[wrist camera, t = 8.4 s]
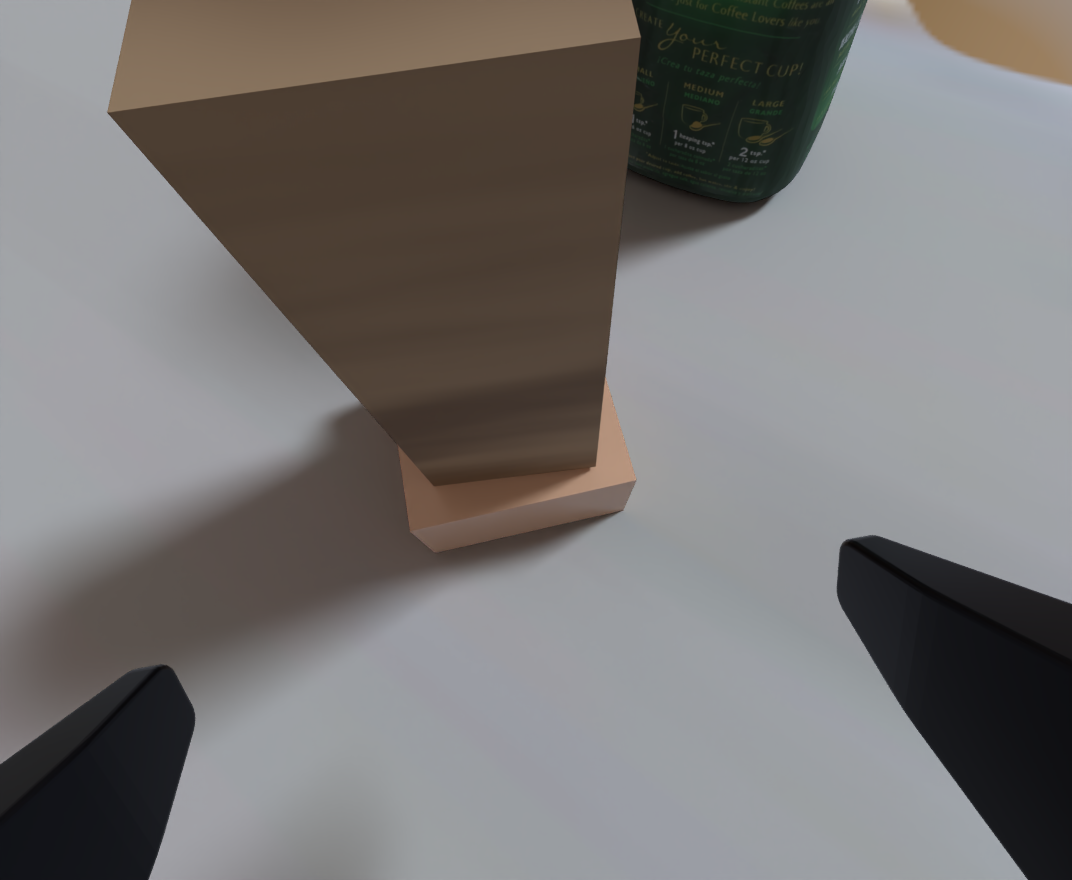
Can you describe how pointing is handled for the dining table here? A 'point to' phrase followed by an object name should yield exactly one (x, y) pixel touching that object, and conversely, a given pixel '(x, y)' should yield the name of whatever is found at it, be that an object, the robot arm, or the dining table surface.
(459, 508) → the terracotta block
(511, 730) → the dining table surface
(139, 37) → the walnut block
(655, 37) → the coffee jar
